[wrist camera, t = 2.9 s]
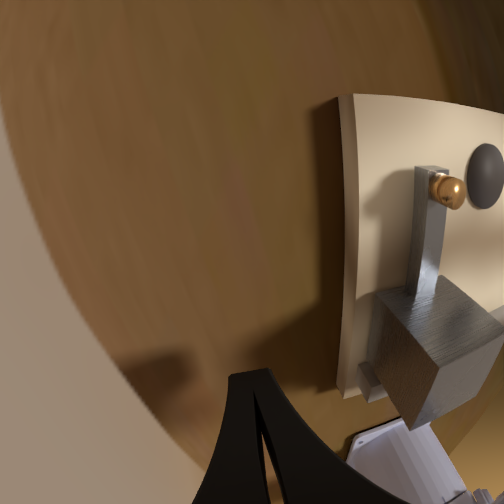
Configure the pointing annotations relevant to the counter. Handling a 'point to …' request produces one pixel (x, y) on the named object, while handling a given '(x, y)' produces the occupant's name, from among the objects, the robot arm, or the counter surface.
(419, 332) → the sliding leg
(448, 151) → the bolt board
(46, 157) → the counter surface
